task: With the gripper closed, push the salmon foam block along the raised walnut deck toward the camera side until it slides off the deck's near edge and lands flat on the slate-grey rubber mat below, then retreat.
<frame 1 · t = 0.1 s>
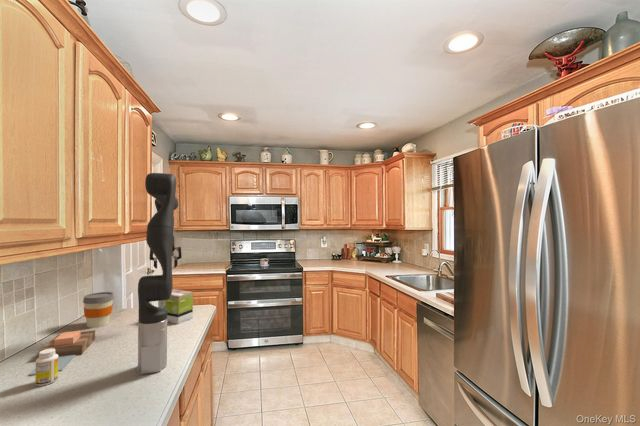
hand: (165, 267, 150), 29 cm above the countertop, fingers open, 8 cm apart
salmon foam block: (67, 341, 122), point 4 cm above the countertop, touching deck
supplement bottle: (46, 382, 98), on the countertop
tea box: (175, 319, 160), on the countertop
reusable coffee cup: (98, 324, 152), on the countertop
deck: (63, 355, 118), on the countertop
mat: (53, 364, 110), on the countertop
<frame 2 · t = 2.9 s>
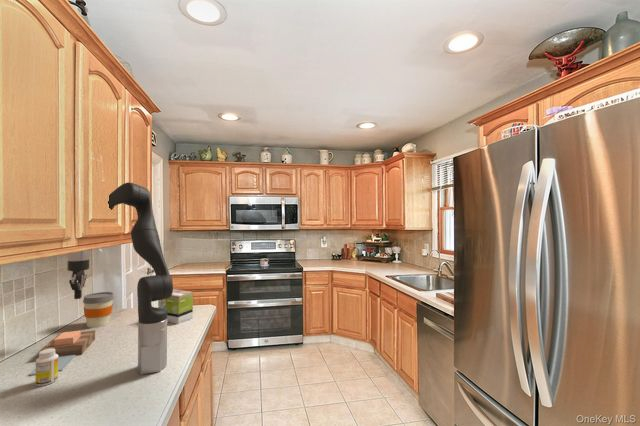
hand: (77, 298, 131), 19 cm above the countertop, fingers closed
nothing on the countertop moved.
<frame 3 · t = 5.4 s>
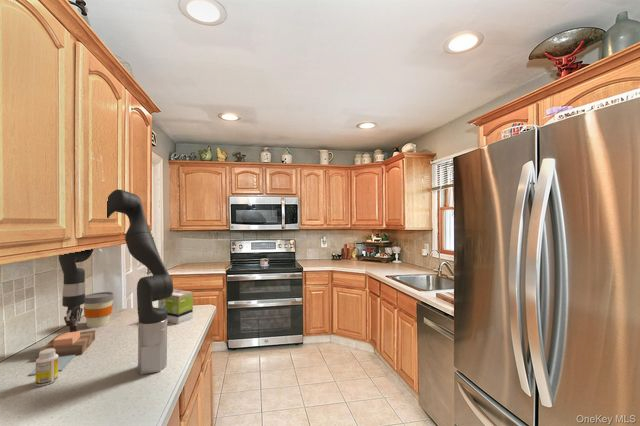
hand: (73, 334, 126), 5 cm above the countertop, fingers closed
salmon foam block: (67, 341, 121), point 4 cm above the countertop, touching deck, gripper
everything else where it was.
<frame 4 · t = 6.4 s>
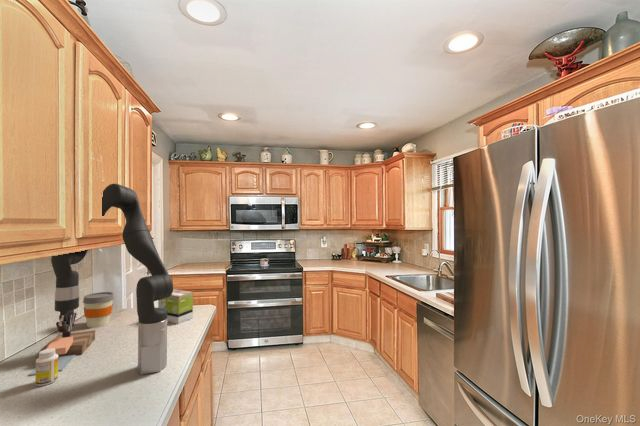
hand: (66, 340, 120), 5 cm above the countertop, fingers closed
salmon foam block: (59, 349, 115), point 4 cm above the countertop, tilted 9°, touching gripper
everything else where it was.
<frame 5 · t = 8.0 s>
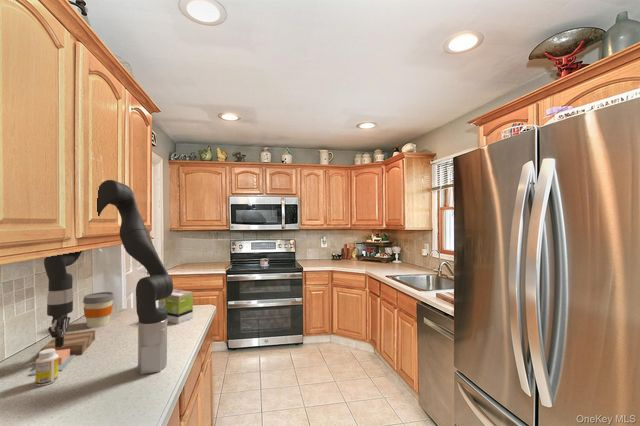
hand: (59, 346, 114), 5 cm above the countertop, fingers closed
salmon foam block: (56, 360, 112), resting on mat
everything else where it was.
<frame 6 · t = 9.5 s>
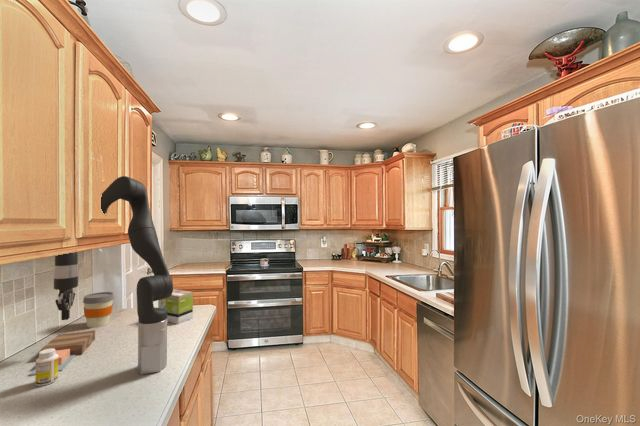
hand: (65, 319, 120), 14 cm above the countertop, fingers closed
nothing on the countertop moved.
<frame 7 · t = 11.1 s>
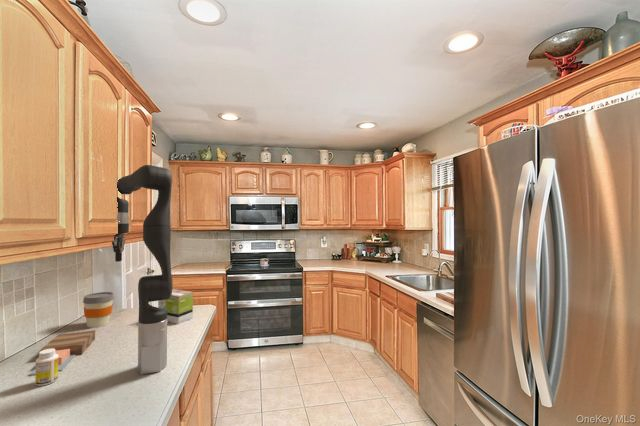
hand: (118, 261, 134), 35 cm above the countertop, fingers closed
nothing on the countertop moved.
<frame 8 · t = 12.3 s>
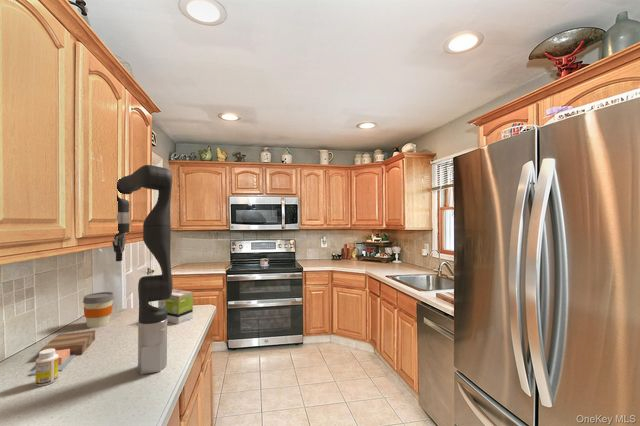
hand: (119, 261, 134), 35 cm above the countertop, fingers closed
nothing on the countertop moved.
at the end: salmon foam block inside the target area on the mat (2.1 cm from its centre), point 0.5 cm above the mat's base; salmon foam block point 0.5 cm above the countertop; salmon foam block tilted 0° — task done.
